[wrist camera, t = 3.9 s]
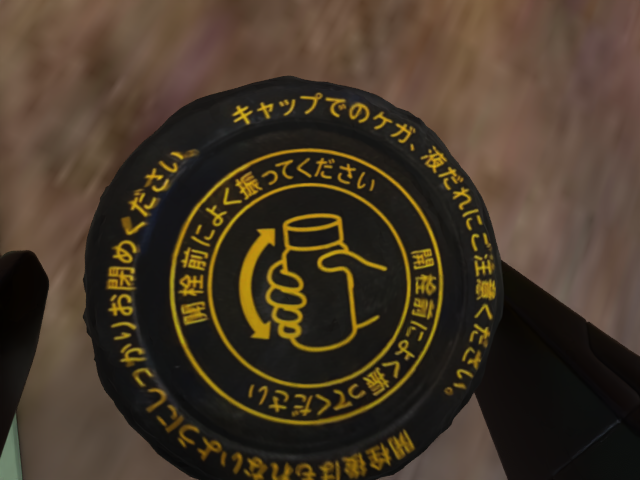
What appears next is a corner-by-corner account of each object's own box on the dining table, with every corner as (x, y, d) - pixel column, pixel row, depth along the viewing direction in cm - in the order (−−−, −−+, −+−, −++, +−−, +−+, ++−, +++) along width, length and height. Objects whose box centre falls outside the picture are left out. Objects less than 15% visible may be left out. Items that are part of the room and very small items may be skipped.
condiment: (390, 272, 17) (673, 297, 5) (237, 423, 16) (177, 872, 4) (269, 141, 17) (293, -141, 5) (104, 286, 16) (-375, 366, 4)
